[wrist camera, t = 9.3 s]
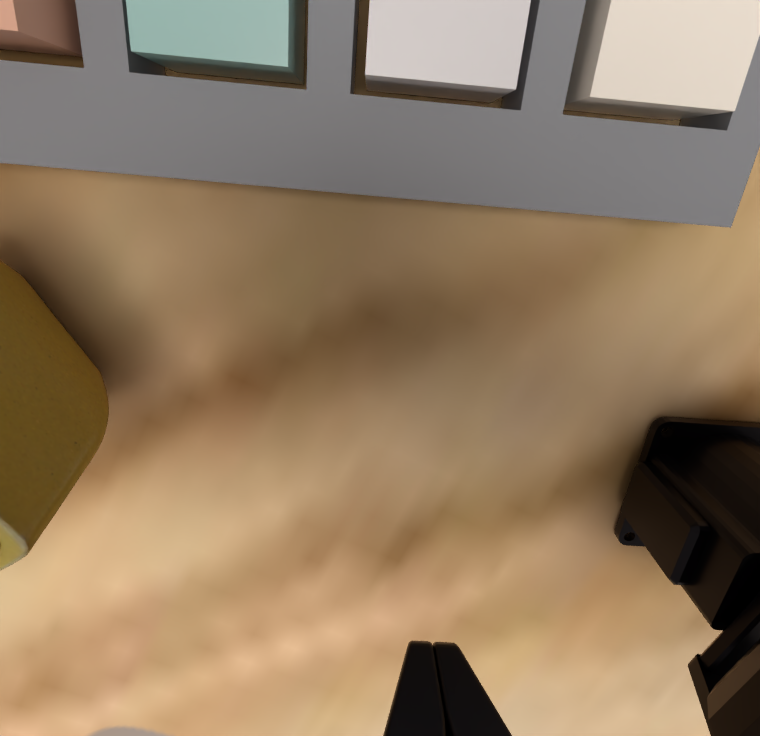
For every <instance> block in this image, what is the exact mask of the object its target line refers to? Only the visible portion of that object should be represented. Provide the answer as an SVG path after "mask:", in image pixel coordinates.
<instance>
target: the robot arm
mask: <svg viewBox="0 0 760 736" xmlns="http://www.w3.org/2000/svg"><path fill="white" fill-rule="evenodd" d="M666 427H668V429H667V430H666V431H664V432H662V430H663V429H664V428H666ZM629 532H630V533H629ZM627 533H629V534H627ZM625 534H627V535H625ZM615 535H616V537H617V539H618V540H619V542H620V543H622V544H623V545H631V546H646V548H647V549H648V551H649V552H650V554H651V555H652V556H653V558H654V559H655V561H656V562H657V563H658V565H659V566H660V568H661V569H662V570H663V572H664V573H665V575H666V576H667V578H668V579H669V580H670V581H671V582H672V583H673V584H674V585H681V586H682V587H683V589H684V590H685V591H686V593H687V594H688V595H689V597H690V598H691V600H692V601H693V602H694V604H695V605H696V606H697V608H698V609H699V611H700V612H701V613H702V615H703V616H704V617H705V619H706V620H707V622H708V623H709V624H710V626H711V627H712V628H713V629H715V630H723V631H722V633H721V634H720V635H719V636H718V637H717V638H716V639H715V640H714V641H713V642H712V643H711V644H710V646H709V647H708V648H707V649H706V650H705V651H704V652H703V653H702V654H697V655H696V656H695V657H694V658H693V659H692V660H691V661H690V663H689V664H688V668H689V671H690V674H691V677H692V680H693V683H694V686H695V689H696V692H697V695H698V698H699V701H700V704H701V707H702V710H703V713H704V716H705V719H706V722H707V725H708V728H709V731H710V734H711V736H760V423H747V422H733V421H719V420H705V419H691V418H677V417H661V418H658V419H656V420H655V421H654V422H653V423H652V425H651V427H650V430H649V433H648V435H647V438H646V441H645V444H644V447H643V450H642V453H641V456H640V459H639V462H638V464H637V465H636V467H635V470H634V473H633V476H632V478H631V481H630V484H629V487H628V490H627V493H626V496H625V499H624V502H623V505H622V508H621V514H620V517H619V520H618V522H617V525H616V528H615ZM383 736H512V735H511V733H510V732H509V730H508V728H507V727H506V725H505V723H504V722H503V720H502V718H501V717H500V715H499V713H498V712H497V710H496V708H495V707H494V705H493V703H492V702H491V700H490V698H489V697H488V695H487V693H486V692H485V690H484V688H483V687H482V685H481V683H480V682H479V680H478V678H477V677H476V675H475V673H474V672H473V670H472V668H471V666H470V665H469V663H468V661H467V660H466V658H465V656H464V655H463V653H462V651H461V650H460V648H459V647H458V646H457V645H456V644H455V643H449V642H435V643H433V645H432V643H430V642H428V641H410V642H409V644H408V647H407V650H406V654H405V658H404V661H403V665H402V669H401V672H400V676H399V680H398V683H397V687H396V691H395V695H394V698H393V702H392V706H391V709H390V713H389V717H388V720H387V724H386V728H385V731H384V735H383Z"/></svg>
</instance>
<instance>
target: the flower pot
mask: <svg viewBox="0 0 760 736" xmlns="http://www.w3.org/2000/svg"><path fill="white" fill-rule="evenodd" d="M108 414H109V406H108V397H107V392H106V388H105V385H104V382H103V379H102V376H101V374H100V372H99V370H98V369H97V368H96V366H95V365H94V364H93V363H92V362H91V360H90V359H89V358H88V357H87V355H86V354H85V353H84V352H83V350H82V349H81V348H80V347H79V345H78V344H77V343H76V342H75V340H74V339H73V338H72V337H71V336H70V334H69V333H68V332H67V331H66V330H65V328H64V327H63V326H62V325H61V324H60V322H59V321H58V320H57V319H56V317H55V316H54V315H53V314H52V312H51V311H50V310H49V309H48V307H47V306H46V305H45V303H44V302H43V301H42V300H41V298H40V297H39V296H38V295H37V293H36V292H35V291H34V290H33V288H32V287H31V286H30V285H29V284H28V282H27V281H26V280H25V279H24V278H23V277H22V276H21V275H20V274H19V273H18V272H16V271H15V270H13V269H12V268H11V267H9V266H8V265H6V264H5V263H3V262H2V261H0V570H2V569H4V568H6V567H8V566H10V565H12V564H14V563H15V562H17V561H19V560H20V559H22V558H23V557H25V556H26V555H27V554H28V553H29V551H30V550H31V549H32V547H33V546H34V544H35V543H36V541H37V540H38V538H39V537H40V535H41V534H42V532H43V531H44V529H45V528H46V527H47V525H48V524H49V522H50V521H51V519H52V518H53V516H54V515H55V514H56V512H57V511H58V509H59V507H60V506H61V504H62V503H63V501H64V500H65V498H66V497H67V495H68V494H69V492H70V491H71V489H72V488H73V486H74V485H75V483H76V482H77V480H78V479H79V477H80V476H81V474H82V473H83V471H84V470H85V469H86V467H87V466H88V464H89V463H90V461H91V460H92V458H93V456H94V455H95V453H96V451H97V450H98V448H99V446H100V444H101V442H102V439H103V437H104V434H105V431H106V427H107V421H108Z"/></svg>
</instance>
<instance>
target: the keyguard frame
mask: <svg viewBox="0 0 760 736" xmlns="http://www.w3.org/2000/svg"><path fill="white" fill-rule="evenodd" d="M75 3H76V10H77V18H78V25H79V33H80V40H81V48H82V56H83V63H84V68H78V67H68V66H58V65H48V64H37V63H27V62H17V61H6V60H0V163H8V164H19V165H30V166H42V167H53V168H64V169H76V170H87V171H98V172H110V173H121V174H132V175H143V176H155V177H166V178H177V179H189V180H200V181H211V182H222V183H234V184H245V185H256V186H268V187H279V188H290V189H302V190H313V191H324V192H335V193H347V194H358V195H369V196H381V197H392V198H403V199H415V200H426V201H437V202H448V203H460V204H471V205H482V206H494V207H505V208H516V209H527V210H539V211H550V212H561V213H573V214H584V215H595V216H607V217H618V218H629V219H640V220H652V221H663V222H674V223H686V224H697V225H708V226H720V227H731V226H732V223H733V220H734V217H735V215H736V212H737V209H738V206H739V203H740V200H741V198H742V195H743V192H744V189H745V186H746V184H747V181H748V178H749V175H750V172H751V169H752V167H753V164H754V161H755V158H756V155H757V152H758V150H759V147H760V36H759V39H758V42H757V45H756V48H755V51H754V54H753V57H752V60H751V63H750V66H749V69H748V72H747V75H746V78H745V82H744V85H743V88H742V91H741V94H740V97H739V100H738V103H737V106H736V109H735V111H733V112H726V113H719V114H712V115H705V116H699V117H692V118H685V119H681V122H680V126H675V125H664V124H654V123H644V122H633V121H623V120H613V119H603V118H592V117H582V116H572V115H563V110H564V105H565V100H566V95H567V91H568V86H569V81H570V76H571V71H572V66H573V61H574V56H575V52H576V47H577V42H578V37H579V32H580V27H581V22H582V17H583V13H584V8H585V3H586V0H531V3H530V9H529V15H528V21H527V27H526V33H525V39H524V45H523V51H522V57H521V63H520V68H519V74H518V80H517V86H516V90H514V91H512V92H510V93H508V94H506V95H505V96H503V100H502V106H501V109H500V108H490V107H479V106H469V105H459V104H448V103H438V102H428V101H418V100H407V99H397V98H387V97H376V96H366V95H356V94H354V89H355V71H356V53H357V35H358V17H359V0H309V3H308V48H307V90H305V89H294V88H284V87H274V86H263V85H253V84H243V83H233V82H222V81H212V80H202V79H191V78H181V77H171V76H165V67H164V66H162V65H159V64H157V63H155V62H153V61H151V60H149V59H147V58H144V57H142V56H140V55H138V54H136V53H134V52H131V47H130V37H129V27H128V17H127V7H126V0H75Z"/></svg>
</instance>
